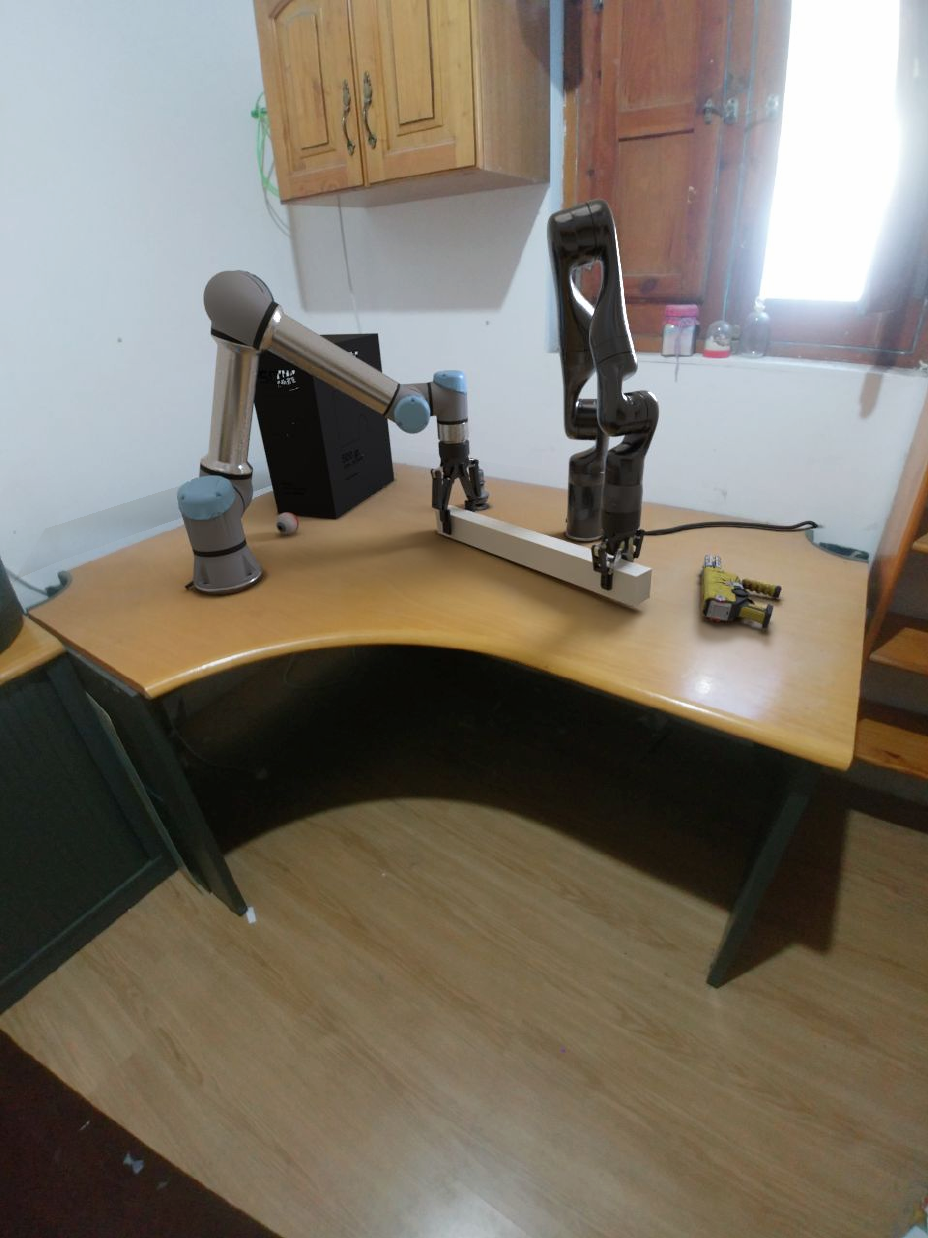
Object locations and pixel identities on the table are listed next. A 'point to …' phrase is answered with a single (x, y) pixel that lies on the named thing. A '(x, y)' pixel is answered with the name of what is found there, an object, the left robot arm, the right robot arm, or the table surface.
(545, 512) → the table surface
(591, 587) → the bar
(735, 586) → the toy gun
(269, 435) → the cardboard box
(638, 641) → the table surface
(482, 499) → the salt shaker
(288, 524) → the eyeball
